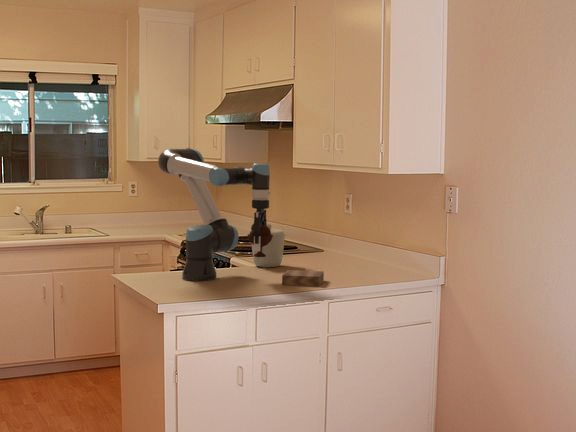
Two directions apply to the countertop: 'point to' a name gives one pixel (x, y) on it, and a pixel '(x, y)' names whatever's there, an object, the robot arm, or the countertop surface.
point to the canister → (271, 250)
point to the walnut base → (303, 278)
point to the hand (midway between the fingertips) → (259, 249)
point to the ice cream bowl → (261, 239)
